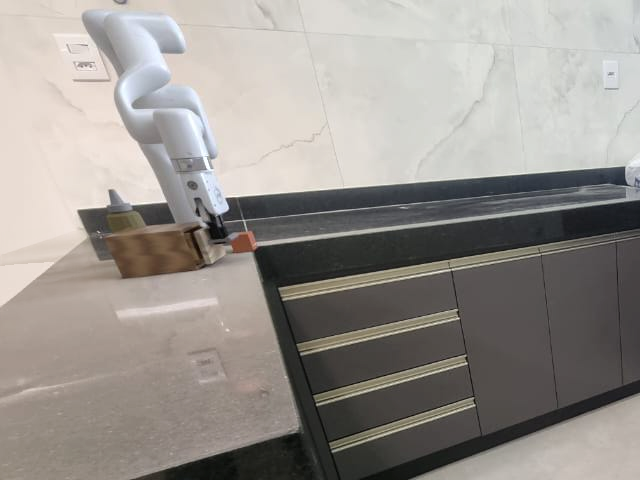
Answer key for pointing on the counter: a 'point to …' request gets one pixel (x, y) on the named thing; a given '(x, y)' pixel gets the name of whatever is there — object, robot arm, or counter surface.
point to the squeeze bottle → (121, 214)
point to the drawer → (206, 244)
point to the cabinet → (152, 250)
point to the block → (244, 242)
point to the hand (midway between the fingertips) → (222, 243)
